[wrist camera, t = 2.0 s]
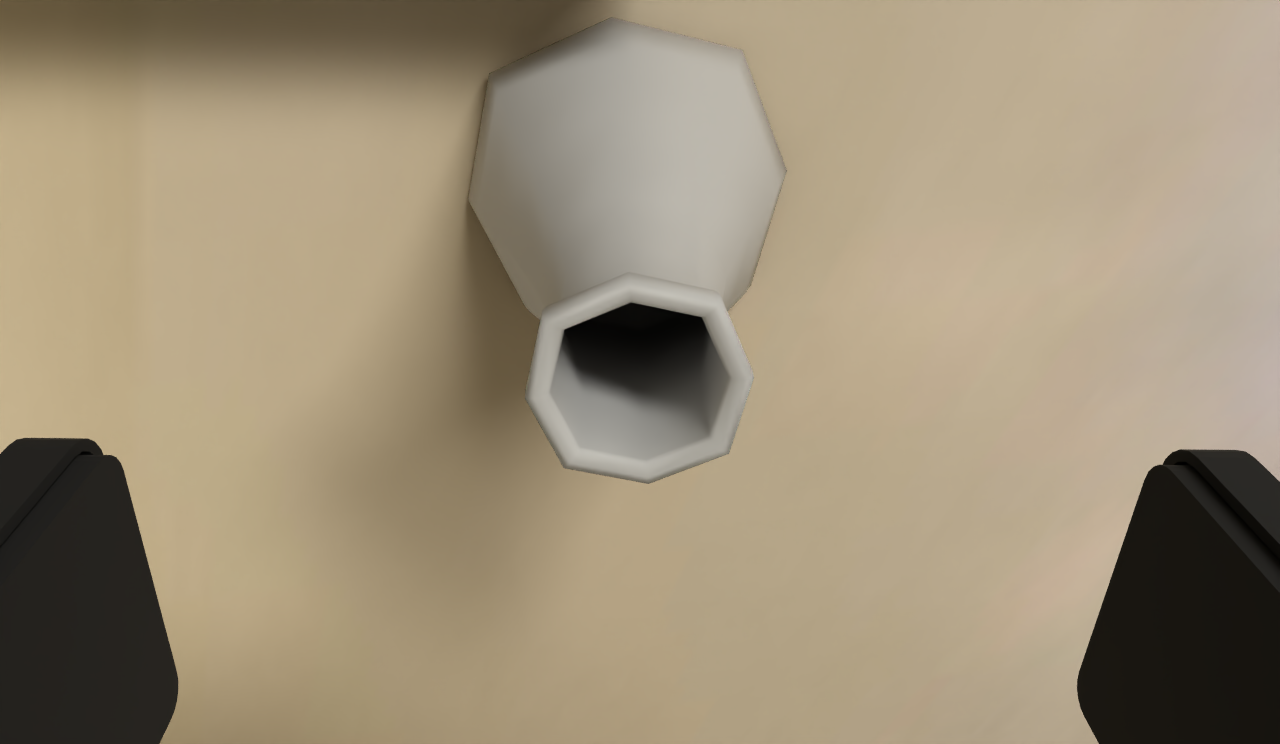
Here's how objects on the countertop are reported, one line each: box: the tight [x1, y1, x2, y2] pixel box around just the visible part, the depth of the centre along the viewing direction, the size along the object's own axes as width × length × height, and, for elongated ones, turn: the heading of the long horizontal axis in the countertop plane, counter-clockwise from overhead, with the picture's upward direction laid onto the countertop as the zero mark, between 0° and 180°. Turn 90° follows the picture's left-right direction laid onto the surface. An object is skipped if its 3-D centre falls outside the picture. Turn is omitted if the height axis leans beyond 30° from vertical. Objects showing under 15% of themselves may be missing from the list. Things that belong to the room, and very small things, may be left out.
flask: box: [468, 17, 787, 484], centre depth 18 cm, size 7×7×10 cm
